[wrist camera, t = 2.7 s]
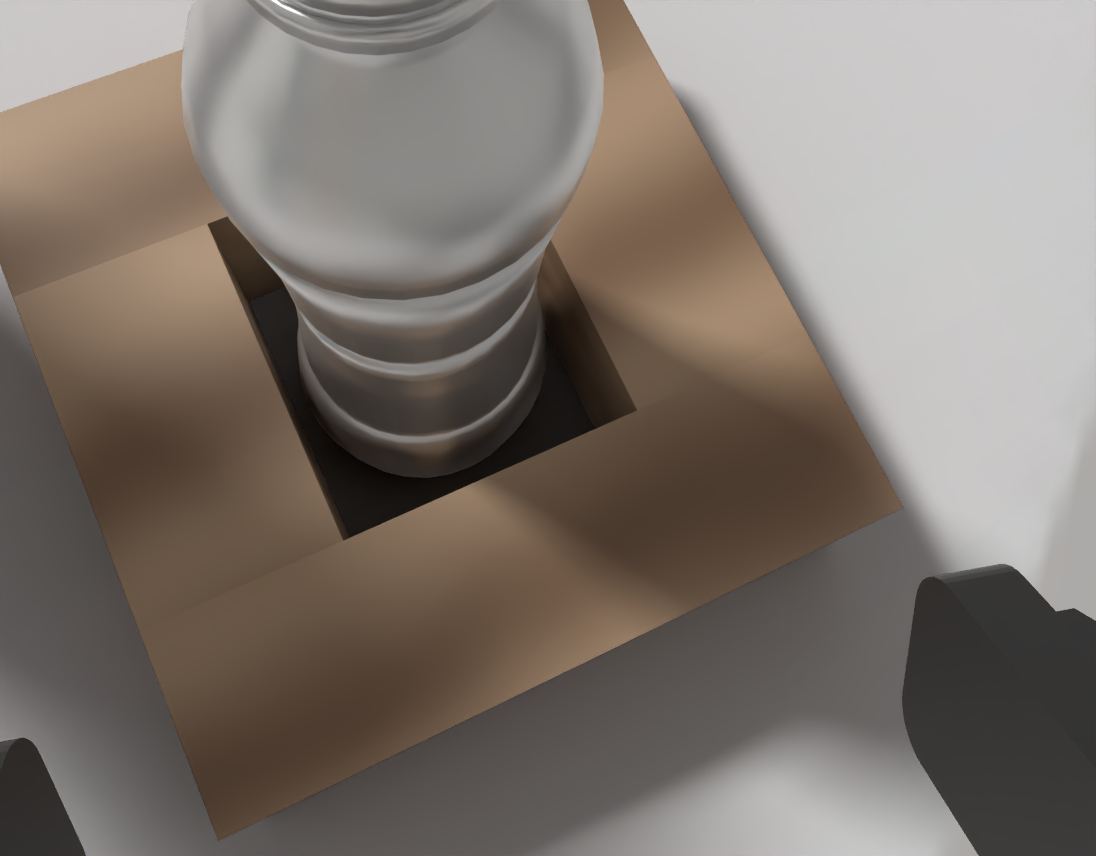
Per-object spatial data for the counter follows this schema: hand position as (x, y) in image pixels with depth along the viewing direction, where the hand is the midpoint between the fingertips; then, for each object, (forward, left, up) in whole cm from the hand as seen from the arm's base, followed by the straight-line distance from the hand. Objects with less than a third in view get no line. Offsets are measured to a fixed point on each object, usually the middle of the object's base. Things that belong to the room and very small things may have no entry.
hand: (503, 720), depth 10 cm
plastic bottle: (-9, +2, -19) cm, 21 cm away
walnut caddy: (-9, +2, -19) cm, 21 cm away
